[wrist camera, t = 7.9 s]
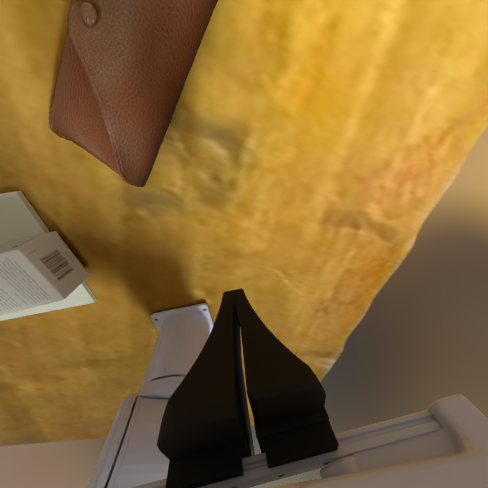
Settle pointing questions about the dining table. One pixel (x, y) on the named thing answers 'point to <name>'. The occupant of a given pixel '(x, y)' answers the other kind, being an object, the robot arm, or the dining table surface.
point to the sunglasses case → (125, 77)
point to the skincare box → (37, 272)
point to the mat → (27, 225)
